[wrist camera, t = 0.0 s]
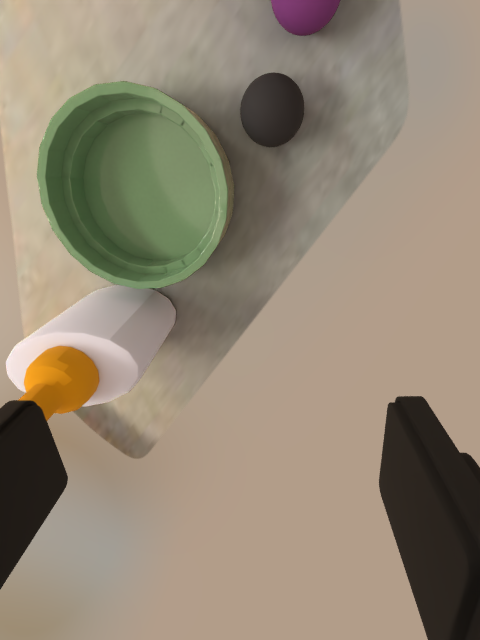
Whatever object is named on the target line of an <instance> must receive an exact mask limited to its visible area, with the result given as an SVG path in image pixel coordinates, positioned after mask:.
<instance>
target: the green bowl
mask: <svg viewBox="0 0 480 640" xmlns="http://www.w3.org/2000/svg"><path fill="white" fill-rule="evenodd" d="M37 179H38V185H39V191H40V197H41V203H42V206H43V209H44V211H45V213H46V216H47V218H48V220H49V223H50V225H51V227H52V230H53V231H54V233H55V234H56V235H57V237H58V238H59V240H60V241H61V242H62V244H63V245H64V246H65V248H66V249H67V250H68V252H69V253H70V254H71V255H72V256H73V257H74V258H75V259H76V260H78V261H79V262H80V263H81V264H82V265H83V266H84V267H86V268H87V269H88V270H89V271H91V272H92V273H94V274H96V275H98V276H100V277H102V278H104V279H106V280H108V281H110V282H112V283H114V284H118V285H122V286H126V287H131V288H135V289H150V288H163V287H166V286H168V285H171V284H174V283H177V282H180V281H183V280H185V279H186V278H187V277H189V276H190V275H191V274H193V273H194V272H195V271H197V270H198V269H199V268H201V267H202V266H203V265H204V264H205V263H206V261H207V260H208V258H209V257H210V256H211V254H212V253H213V251H214V250H215V249H216V247H217V246H218V244H219V243H220V241H221V240H222V239H223V237H224V236H225V234H226V231H227V228H228V225H229V222H230V219H231V216H232V213H233V201H234V182H233V178H232V173H231V168H230V164H229V160H228V158H227V156H226V154H225V152H224V150H223V148H222V146H221V144H220V142H219V140H218V138H217V136H216V135H215V133H214V132H213V131H212V130H211V129H210V128H209V127H208V126H207V125H206V124H205V122H204V121H203V120H202V119H201V118H200V117H199V116H198V115H197V114H196V113H195V112H193V111H192V110H190V109H189V108H187V107H186V106H184V105H183V104H181V103H179V102H178V101H176V100H174V99H173V98H171V97H169V96H168V95H166V94H164V93H163V92H161V91H159V90H158V89H155V88H152V87H148V86H144V85H140V84H135V83H131V82H127V81H121V82H112V83H104V84H96V85H93V86H91V87H90V88H88V89H86V90H84V91H82V92H80V93H78V94H76V95H74V96H73V97H71V98H69V99H68V100H67V102H66V103H65V104H64V105H63V106H62V107H61V108H60V109H59V111H58V112H57V113H56V114H55V115H54V116H53V117H52V119H51V120H50V123H49V125H48V127H47V130H46V132H45V135H44V137H43V140H42V142H41V144H40V147H39V158H38V168H37Z"/></svg>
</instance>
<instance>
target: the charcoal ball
mask: <svg viewBox="0 0 480 640" xmlns="http://www.w3.org/2000/svg"><path fill="white" fill-rule="evenodd" d="M303 116H304V100H303V96H302V93H301V91H300V89H299V87H298V86H297V84H296V83H295V82H294V81H293V80H292V79H291V78H289V77H288V76H286V75H284V74H280V73H268V74H264V75H262V76H260V77H258V78H257V79H255V80H254V81H253V82H252V83H251V84H250V85H249V87H248V88H247V90H246V91H245V93H244V96H243V99H242V102H241V120H242V124H243V127H244V129H245V131H246V133H247V134H248V136H249V137H250V138H251V139H252V140H253V141H254V142H256V143H258V144H260V145H262V146H266V147H275V146H279V145H282V144H284V143H286V142H288V141H289V140H290V139H291V138H292V137H293V136H294V135H295V134H296V133H297V131H298V129H299V128H300V126H301V123H302V120H303Z"/></svg>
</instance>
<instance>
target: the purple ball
mask: <svg viewBox="0 0 480 640" xmlns="http://www.w3.org/2000/svg"><path fill="white" fill-rule="evenodd" d="M271 3H272V8H273V11H274V14H275V16H276V18H277V20H278V22H279V23H280V24H281V26H282V27H283V28H284V29H285V30H287V31H288V32H290V33H292V34H295V35H299V36H306V35H310V34H313V33H315V32H317V31H319V30H320V29H322V28H323V27H324V26H325V25H326V24H327V23H328V22H329V21H330V20H331V18H332V17H333V15H334V14H335V12H336V10H337V8H338V6H339V3H340V0H271Z"/></svg>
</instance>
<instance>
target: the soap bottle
mask: <svg viewBox="0 0 480 640" xmlns="http://www.w3.org/2000/svg"><path fill="white" fill-rule="evenodd" d="M175 319H176V310H175V308H174V306H173V305H172V303H171V301H170V300H169V299H168V298H167V297H165V296H164V295H162V294H161V293H159V292H157V291H156V290H152V289H135V288H131V287H126V286H122V285H113V286H109V287H105V288H101V289H97V290H95V291H94V292H92V293H90V294H89V295H87V296H86V297H84V298H82V299H81V300H79V301H78V302H77V303H75V304H74V305H72V306H71V307H69V308H68V309H67V310H65V311H64V312H62V313H61V314H59V315H58V316H57V317H55V318H54V319H52V320H51V321H49V322H48V323H47V324H45V325H44V326H42V327H41V328H39V329H38V330H36V331H35V332H34V333H32V334H31V335H29V336H28V337H26V338H25V339H24V340H22V341H21V342H19V343H18V344H16V345H15V347H14V348H13V350H12V352H11V353H10V355H9V357H8V358H7V361H6V367H7V375H8V377H9V378H10V379H11V381H12V382H13V383H14V384H15V385H16V387H17V388H18V389H19V390H21V391H23V392H25V395H23V396H22V397H21V398H20V399H19V400H31V401H34V402H35V403H36V404H37V405H38V406H40V407H41V409H42V410H43V413H44V416H45V418H46V421H47V420H48V419H49V418H50V417H51V416H52V415H53V414H54V413H59V414H62V413H67V412H71V411H75V410H78V409H79V408H80V407H81V406H90V405H95V404H101V403H106V402H110V401H112V400H114V399H116V398H118V397H120V396H122V395H124V394H126V393H128V392H130V391H131V390H132V388H133V387H134V386H135V385H136V384H137V382H138V381H139V380H140V379H141V377H142V376H143V374H144V373H145V371H146V369H147V368H148V366H149V364H150V363H151V361H152V360H153V358H154V356H155V355H156V353H157V352H158V350H159V348H160V347H161V345H162V344H163V342H164V340H165V339H166V337H167V336H168V334H169V332H170V331H171V329H172V327H173V326H174V324H175Z"/></svg>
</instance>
